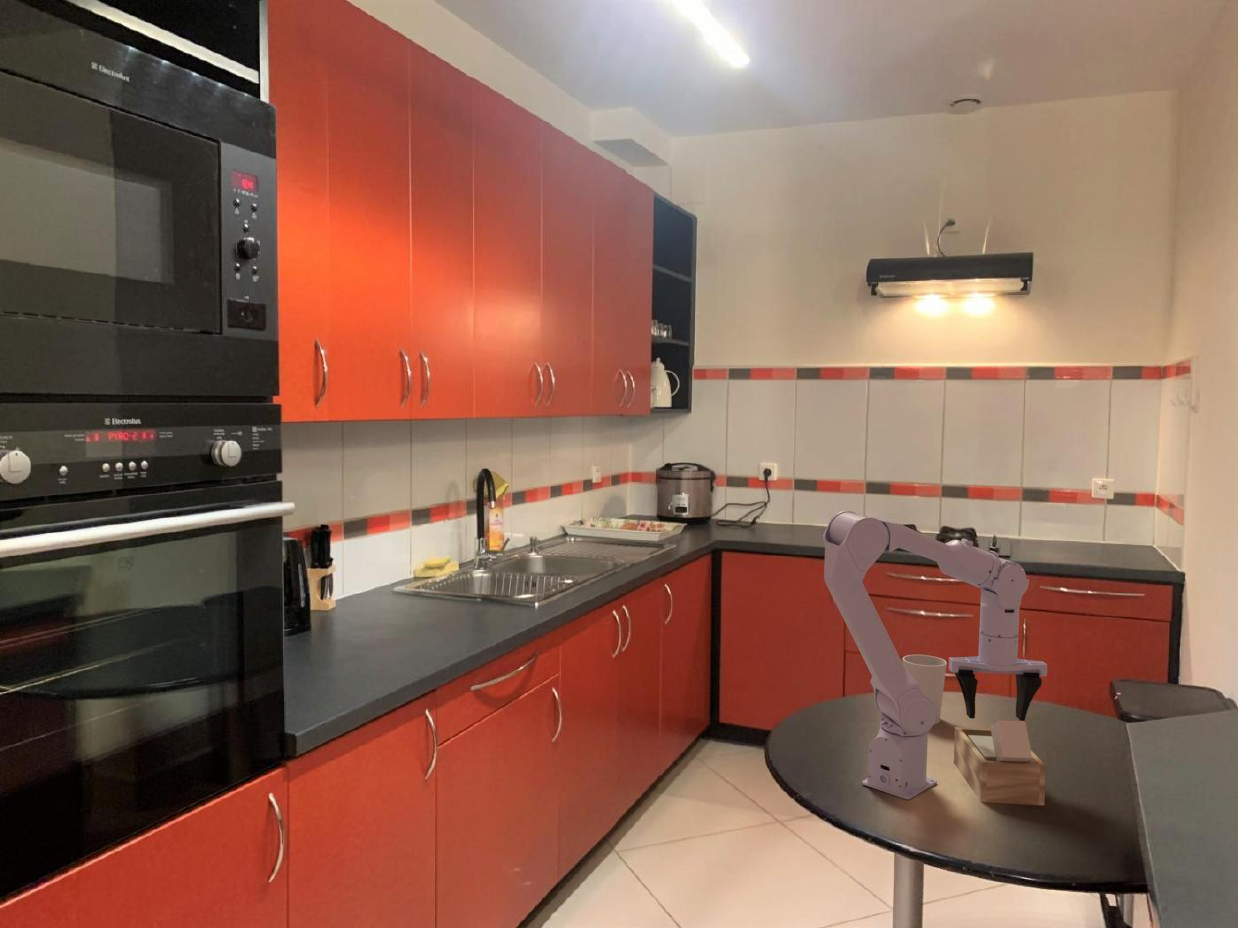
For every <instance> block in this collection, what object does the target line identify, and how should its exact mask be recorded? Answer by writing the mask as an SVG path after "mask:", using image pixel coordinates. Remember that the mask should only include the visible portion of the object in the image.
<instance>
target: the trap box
mask: <svg viewBox="0 0 1238 928" xmlns="http://www.w3.org/2000/svg"><path fill="white" fill-rule="evenodd" d="M968 735H976V736H992V733H991V728H979V727H974V728H973V727H960V726H959V727H954V741H953V742H954V746H953V747H954V749H953V764H954V765H955V768H957V770H958V771H959V773H960V774H961V775H962V777H963V778H964V780H965V782H966V783H967V785H968V786H969V787H970V789H971V790H972V791H973V793H974V795H975V796H976V798H977V799H978V800H979V802H980V803H993V804H1012V805H1013V804H1015V805H1028V806H1029V805H1030V806H1045V795H1046V776H1047V775H1046V770H1047V765H1046V764H1045V763H1044V761H1042V760H1041V759H1040V758H1039V757H1038V756H1037V755H1036V753H1035V752H1034V751H1033V750H1032V749H1031V754H1032V759H1031V763H1025V762H1006V761H987V760H985V759H984V757H983V756H982V755H981V754H980V752H979V751H978V750H977V748H976V747H975V746H974V745H973V743H972V742H971V741H970V740H969V738H968Z"/></svg>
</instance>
